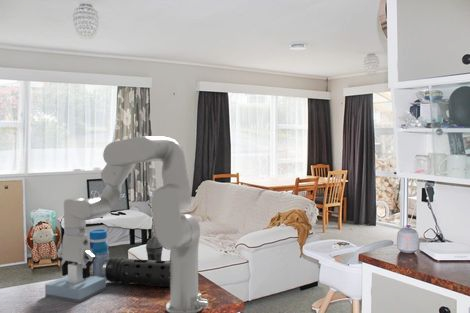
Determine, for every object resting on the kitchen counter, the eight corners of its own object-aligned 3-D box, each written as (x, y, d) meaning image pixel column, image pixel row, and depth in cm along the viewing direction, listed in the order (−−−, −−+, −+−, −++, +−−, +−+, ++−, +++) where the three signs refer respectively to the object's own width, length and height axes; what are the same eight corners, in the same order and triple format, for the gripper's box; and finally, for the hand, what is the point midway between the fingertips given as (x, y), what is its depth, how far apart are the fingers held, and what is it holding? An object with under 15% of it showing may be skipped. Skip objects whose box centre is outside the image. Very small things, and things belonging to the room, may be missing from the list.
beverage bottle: (102, 283, 165) (101, 233, 165) (83, 281, 168) (82, 232, 167) (113, 276, 174) (112, 229, 173) (95, 274, 176) (95, 228, 175)
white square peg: (84, 289, 156) (83, 259, 155) (76, 292, 152) (76, 262, 152) (76, 287, 157) (75, 258, 157) (68, 291, 154) (67, 261, 153)
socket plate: (106, 289, 158) (105, 277, 158) (79, 302, 145) (79, 289, 145) (73, 284, 164) (73, 273, 164) (45, 296, 151) (45, 284, 151)
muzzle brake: (168, 291, 156) (168, 264, 155) (100, 287, 161) (100, 260, 161) (177, 283, 165) (176, 257, 165) (112, 279, 171) (112, 254, 170)
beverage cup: (142, 275, 174) (142, 228, 174) (151, 270, 181) (150, 225, 181) (158, 277, 172) (157, 229, 172) (166, 271, 179) (165, 226, 179)
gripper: (100, 230, 154) (101, 275, 155) (64, 227, 161) (65, 270, 161) (86, 234, 147) (87, 282, 148) (49, 231, 154) (50, 276, 154)
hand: (76, 276), depth 154 cm, fingers open, 9 cm apart
